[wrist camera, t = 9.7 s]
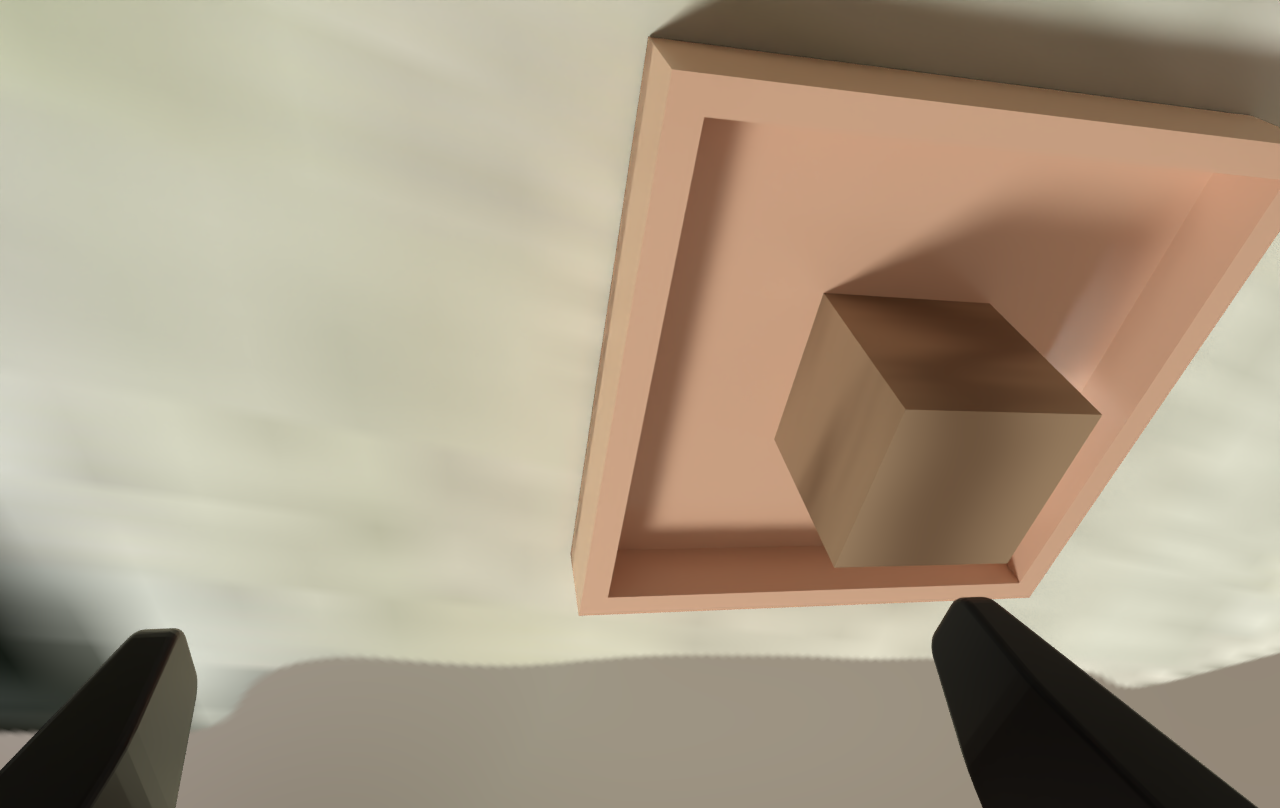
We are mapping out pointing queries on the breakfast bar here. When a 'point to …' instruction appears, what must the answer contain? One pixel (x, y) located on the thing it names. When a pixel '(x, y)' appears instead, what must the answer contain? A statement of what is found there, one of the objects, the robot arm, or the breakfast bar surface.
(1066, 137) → the terracotta dish
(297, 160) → the breakfast bar surface
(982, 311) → the walnut cube
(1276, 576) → the breakfast bar surface
